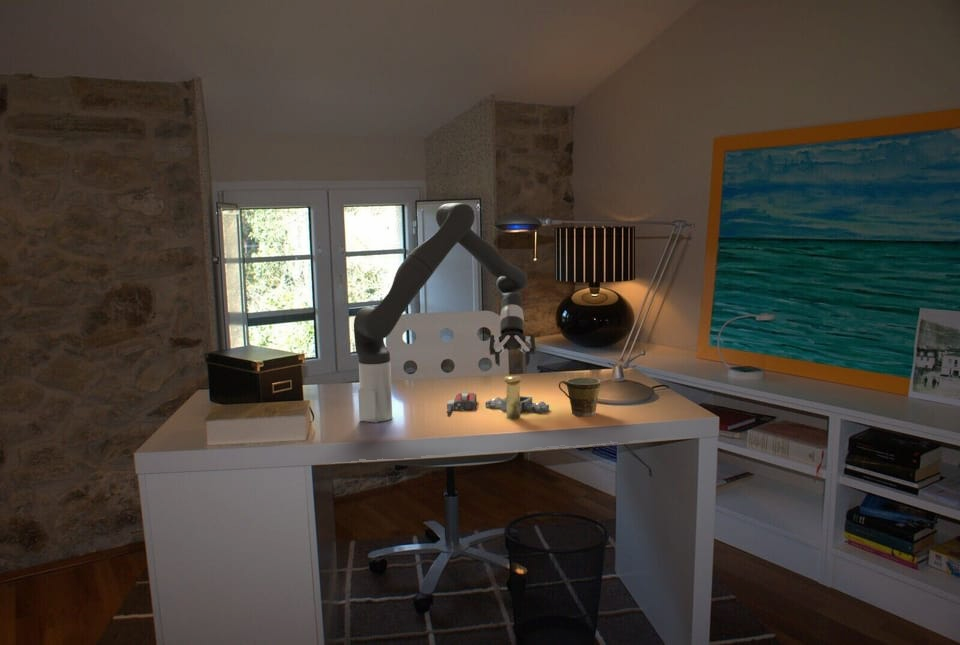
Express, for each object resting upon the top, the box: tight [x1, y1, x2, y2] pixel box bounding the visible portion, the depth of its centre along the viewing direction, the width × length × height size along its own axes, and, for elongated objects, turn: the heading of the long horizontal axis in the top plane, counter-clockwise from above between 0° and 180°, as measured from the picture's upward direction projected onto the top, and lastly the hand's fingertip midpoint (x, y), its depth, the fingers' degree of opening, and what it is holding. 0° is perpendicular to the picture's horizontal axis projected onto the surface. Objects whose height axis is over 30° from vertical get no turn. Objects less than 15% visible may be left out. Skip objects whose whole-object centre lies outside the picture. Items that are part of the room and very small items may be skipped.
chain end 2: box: [500, 395, 550, 414], centre depth 225 cm, size 8×14×3 cm, turn 62°
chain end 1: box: [484, 396, 503, 410], centre depth 229 cm, size 5×7×2 cm
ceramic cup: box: [558, 377, 601, 418], centre depth 218 cm, size 13×10×10 cm
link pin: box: [504, 375, 522, 420], centre depth 215 cm, size 5×5×12 cm
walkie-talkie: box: [446, 391, 477, 415], centre depth 228 cm, size 9×4×20 cm
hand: (512, 364), depth 224 cm, fingers open, 8 cm apart
